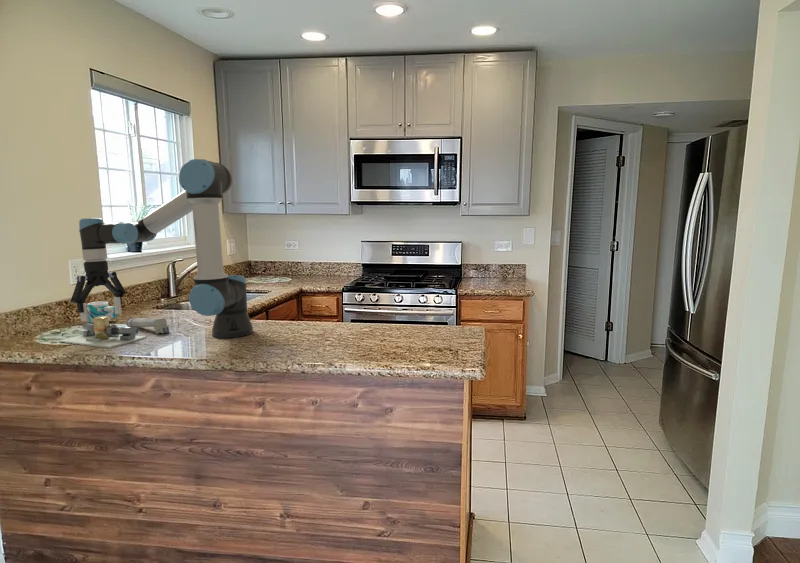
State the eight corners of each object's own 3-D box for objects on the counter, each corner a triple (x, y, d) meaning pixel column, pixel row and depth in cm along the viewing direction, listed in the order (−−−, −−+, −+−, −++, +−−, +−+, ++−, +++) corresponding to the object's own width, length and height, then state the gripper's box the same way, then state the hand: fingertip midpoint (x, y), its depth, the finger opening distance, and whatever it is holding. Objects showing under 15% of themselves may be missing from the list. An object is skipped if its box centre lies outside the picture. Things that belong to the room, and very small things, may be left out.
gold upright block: (104, 336, 186) (102, 315, 185) (113, 337, 184) (111, 316, 183) (91, 339, 182) (89, 318, 181) (100, 340, 180) (98, 319, 179)
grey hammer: (136, 316, 208) (170, 314, 194) (138, 332, 208) (173, 331, 194) (124, 319, 203) (158, 316, 190) (126, 335, 204) (160, 333, 190)
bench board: (145, 338, 185) (145, 334, 185) (109, 348, 171) (109, 343, 171) (97, 333, 195) (96, 329, 194) (59, 342, 181) (58, 338, 181)
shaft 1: (105, 336, 187) (104, 322, 186) (92, 338, 183) (90, 324, 182) (94, 332, 193) (92, 319, 192) (80, 335, 189) (79, 321, 188)
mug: (98, 319, 223) (96, 301, 221) (122, 319, 221) (120, 301, 220) (84, 323, 215) (82, 304, 213) (108, 323, 213) (107, 304, 212)
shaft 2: (106, 340, 180) (105, 326, 180) (115, 337, 185) (114, 323, 184) (132, 340, 179) (131, 326, 178) (140, 337, 184) (139, 323, 183)
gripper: (118, 257, 192) (124, 310, 195) (54, 263, 169) (61, 324, 172) (132, 257, 189) (138, 311, 192) (69, 263, 166) (76, 325, 169)
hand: (102, 317), depth 182 cm, fingers open, 13 cm apart
